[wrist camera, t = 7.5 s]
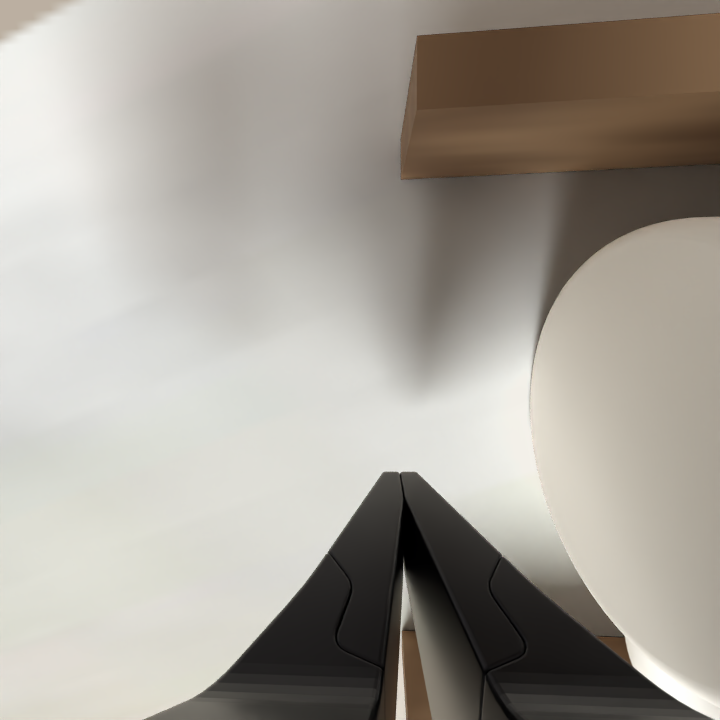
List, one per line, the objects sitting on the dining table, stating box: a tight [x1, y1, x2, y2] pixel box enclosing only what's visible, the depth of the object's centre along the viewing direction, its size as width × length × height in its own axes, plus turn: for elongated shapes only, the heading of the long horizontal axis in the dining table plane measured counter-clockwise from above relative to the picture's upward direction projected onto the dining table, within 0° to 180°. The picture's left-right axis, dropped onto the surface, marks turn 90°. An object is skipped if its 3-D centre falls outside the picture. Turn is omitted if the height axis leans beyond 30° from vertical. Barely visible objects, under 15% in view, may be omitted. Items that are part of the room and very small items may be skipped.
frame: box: [401, 13, 720, 720], centre depth 9 cm, size 15×18×4 cm
